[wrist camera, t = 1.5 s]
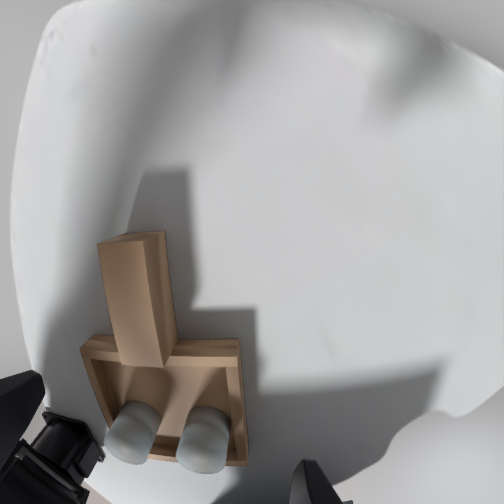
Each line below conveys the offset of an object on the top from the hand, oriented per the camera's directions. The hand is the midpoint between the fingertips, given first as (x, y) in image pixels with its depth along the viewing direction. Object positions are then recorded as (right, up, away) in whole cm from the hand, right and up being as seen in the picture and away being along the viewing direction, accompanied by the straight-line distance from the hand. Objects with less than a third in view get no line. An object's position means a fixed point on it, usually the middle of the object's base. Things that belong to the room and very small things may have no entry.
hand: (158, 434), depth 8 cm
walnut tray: (-4, -3, +14) cm, 15 cm away
